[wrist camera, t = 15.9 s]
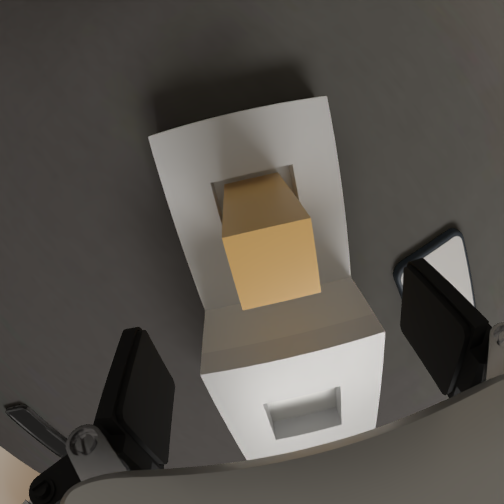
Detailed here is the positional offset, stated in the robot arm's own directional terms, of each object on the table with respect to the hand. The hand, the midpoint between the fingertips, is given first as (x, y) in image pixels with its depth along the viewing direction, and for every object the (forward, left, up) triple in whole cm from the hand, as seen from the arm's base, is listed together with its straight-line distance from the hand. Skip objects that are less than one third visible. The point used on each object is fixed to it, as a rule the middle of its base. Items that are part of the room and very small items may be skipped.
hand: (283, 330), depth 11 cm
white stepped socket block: (+7, 0, -16) cm, 17 cm away
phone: (+29, -43, -16) cm, 54 cm away
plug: (0, 0, -15) cm, 15 cm away
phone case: (+15, +18, -16) cm, 29 cm away
